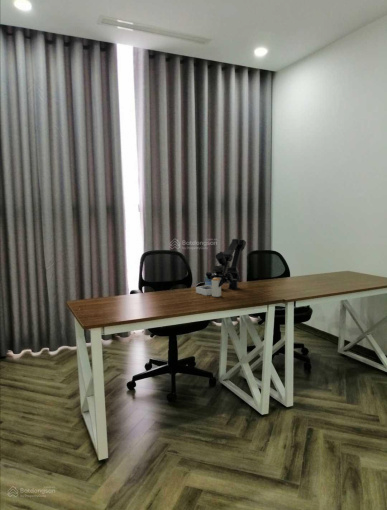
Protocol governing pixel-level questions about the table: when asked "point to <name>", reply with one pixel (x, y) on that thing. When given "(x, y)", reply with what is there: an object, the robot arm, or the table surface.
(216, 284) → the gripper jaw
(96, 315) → the table surface
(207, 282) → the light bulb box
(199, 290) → the housing
